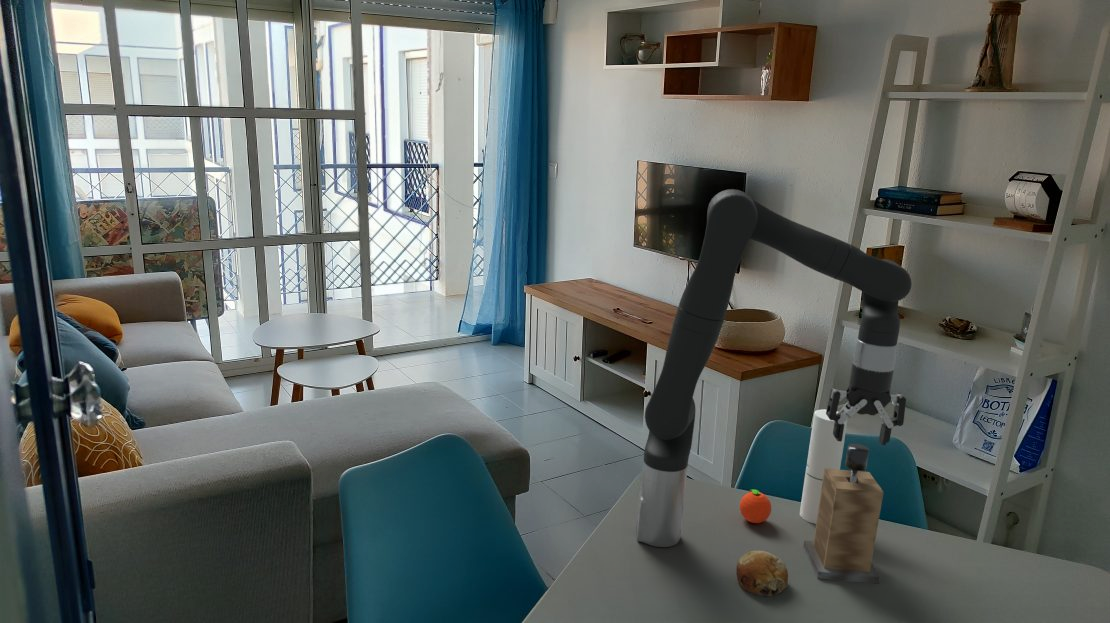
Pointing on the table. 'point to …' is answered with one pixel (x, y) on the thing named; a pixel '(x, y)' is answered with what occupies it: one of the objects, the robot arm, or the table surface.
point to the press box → (846, 527)
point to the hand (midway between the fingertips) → (860, 441)
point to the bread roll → (761, 573)
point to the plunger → (856, 459)
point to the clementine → (755, 507)
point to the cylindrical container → (820, 462)
